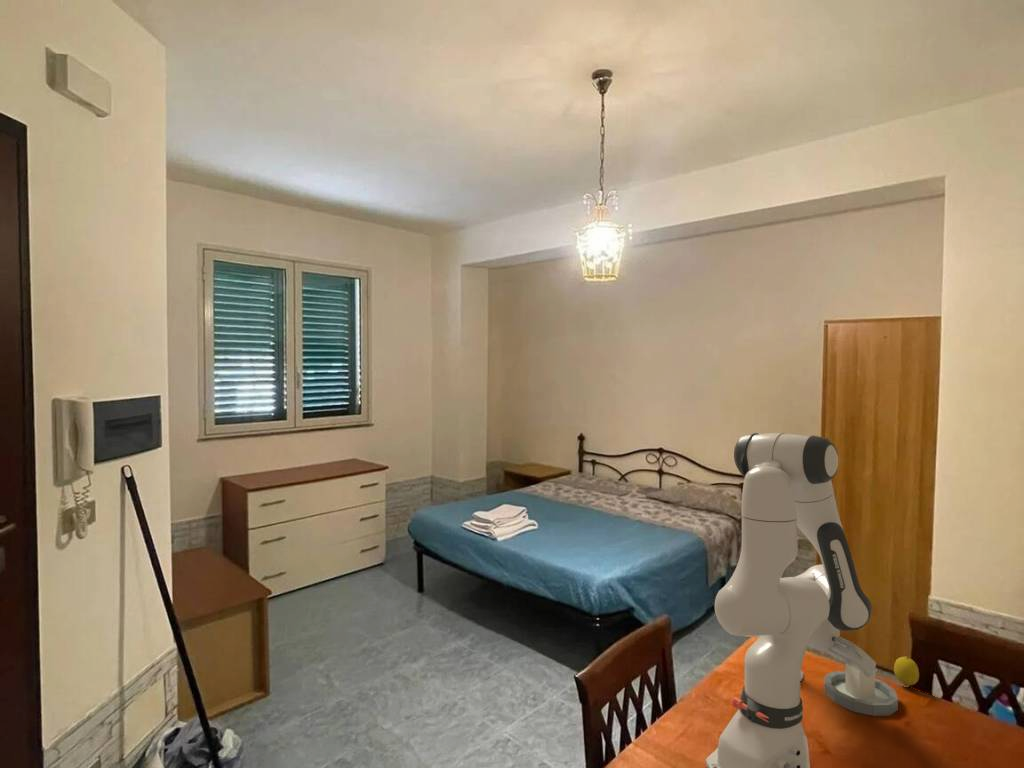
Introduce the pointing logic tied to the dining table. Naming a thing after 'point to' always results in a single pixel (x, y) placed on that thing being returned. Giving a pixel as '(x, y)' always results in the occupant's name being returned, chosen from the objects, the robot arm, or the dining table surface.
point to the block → (859, 683)
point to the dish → (876, 706)
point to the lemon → (906, 671)
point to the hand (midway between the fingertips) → (853, 665)
